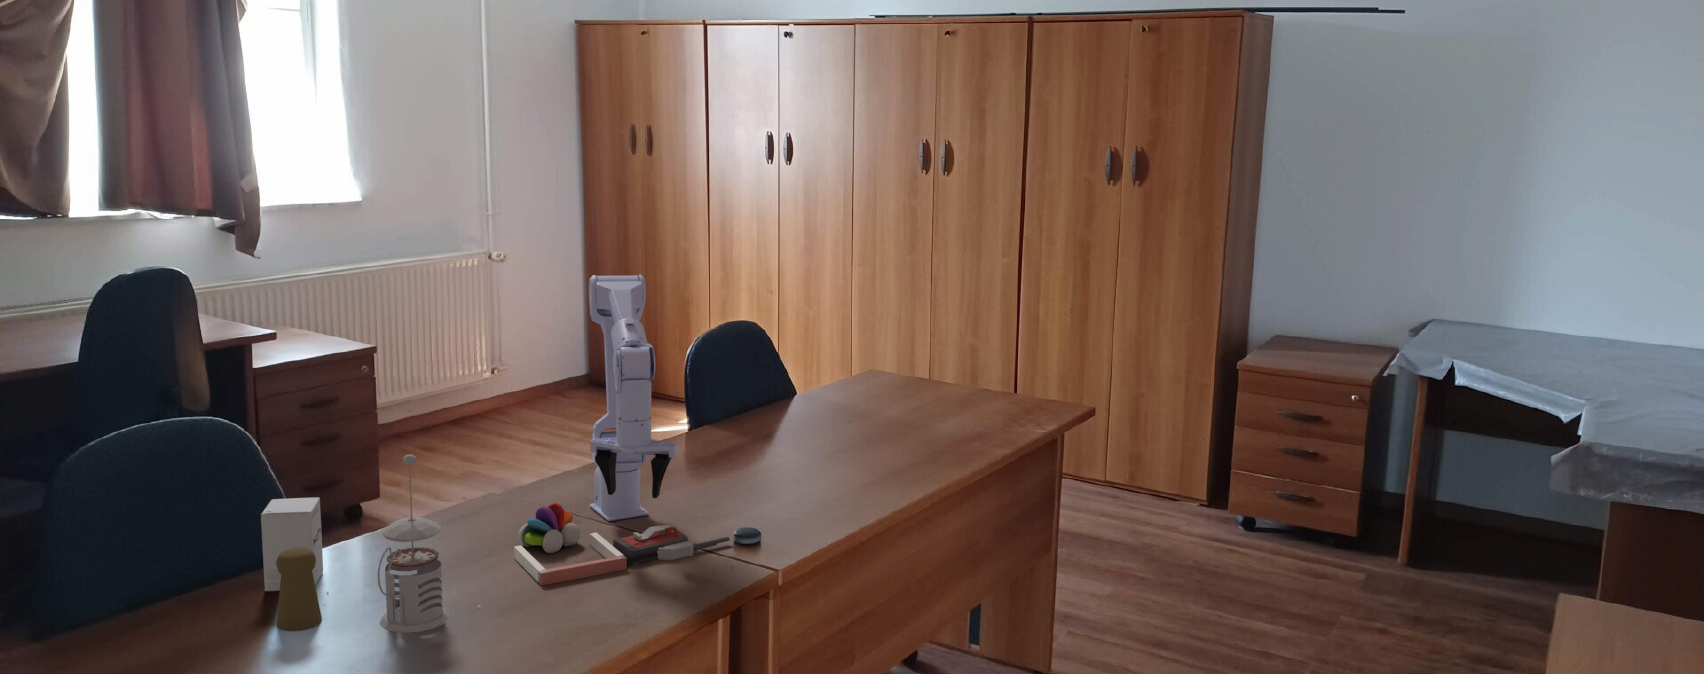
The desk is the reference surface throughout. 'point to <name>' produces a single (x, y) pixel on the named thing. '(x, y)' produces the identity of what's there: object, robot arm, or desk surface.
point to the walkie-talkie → (659, 544)
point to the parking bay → (569, 572)
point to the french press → (413, 576)
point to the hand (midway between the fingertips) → (633, 494)
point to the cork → (297, 590)
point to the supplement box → (290, 534)
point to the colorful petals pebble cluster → (550, 529)
